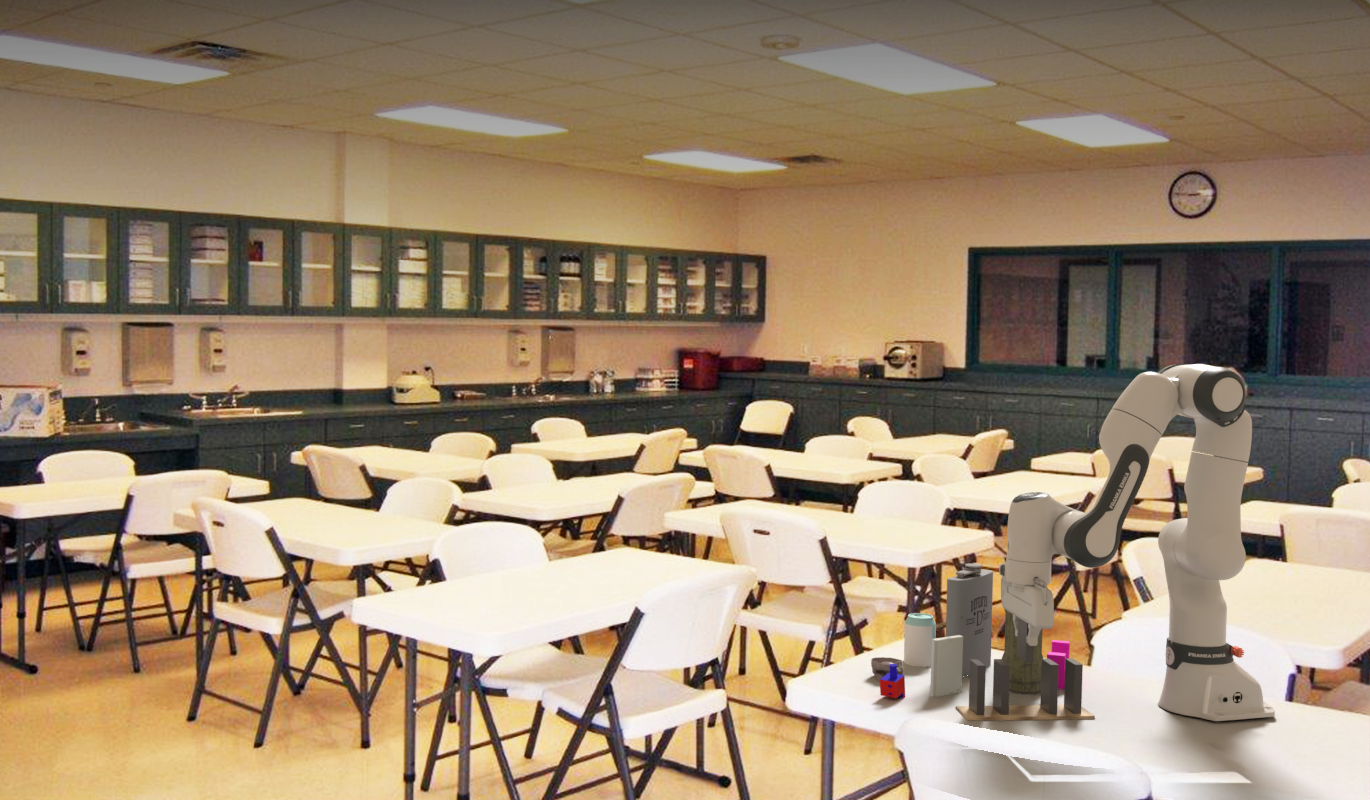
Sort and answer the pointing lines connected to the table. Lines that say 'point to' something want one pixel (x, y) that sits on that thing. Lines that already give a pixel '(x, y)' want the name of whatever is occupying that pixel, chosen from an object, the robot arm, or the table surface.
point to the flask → (971, 613)
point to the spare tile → (1024, 643)
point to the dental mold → (884, 666)
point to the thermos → (1021, 662)
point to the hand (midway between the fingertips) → (1025, 641)
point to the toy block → (1060, 658)
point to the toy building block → (892, 684)
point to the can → (919, 639)
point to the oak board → (1024, 713)
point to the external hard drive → (946, 665)
